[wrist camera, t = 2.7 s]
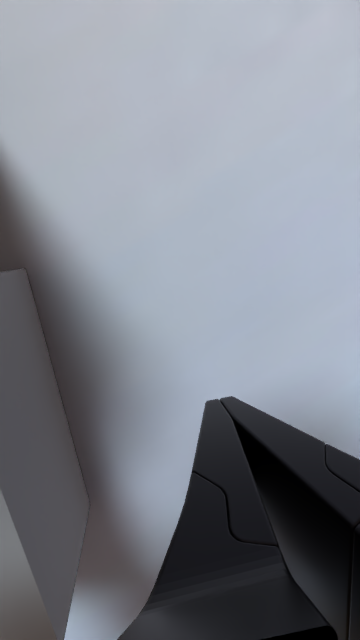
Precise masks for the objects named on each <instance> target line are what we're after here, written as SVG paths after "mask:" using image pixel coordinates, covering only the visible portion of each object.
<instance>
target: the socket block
mask: <svg viewBox="0 0 360 640" xmlns="http://www.w3.org/2000/svg"><path fill="white" fill-rule="evenodd" d="M89 509H90V502H89V498H88V495H87V491H86V487H85V484H84V480H83V476H82V473H81V469H80V466H79V462H78V458H77V455H76V451H75V447H74V444H73V440H72V436H71V433H70V429H69V425H68V422H67V418H66V414H65V411H64V407H63V404H62V400H61V396H60V393H59V389H58V385H57V382H56V378H55V374H54V371H53V367H52V363H51V360H50V356H49V353H48V349H47V345H46V342H45V338H44V334H43V331H42V327H41V323H40V320H39V316H38V312H37V309H36V305H35V302H34V298H33V294H32V291H31V287H30V283H29V280H28V276H27V272H26V269H25V268H23V269H16V270H8V271H1V272H0V640H64V637H65V632H66V626H67V621H68V616H69V611H70V606H71V601H72V596H73V591H74V586H75V580H76V575H77V570H78V565H79V560H80V555H81V550H82V545H83V539H84V534H85V529H86V524H87V519H88V514H89Z"/></svg>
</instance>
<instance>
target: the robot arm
mask: <svg viewBox="0 0 360 640" xmlns="http://www.w3.org/2000/svg"><path fill="white" fill-rule="evenodd" d="M117 640H360V460H359V459H357V458H355V457H353V456H351V455H349V454H347V453H345V452H343V451H340V450H338V449H336V448H334V447H332V446H330V445H328V444H326V445H325V443H324V442H322V441H320V440H318V439H316V438H314V437H312V436H310V435H308V434H306V433H304V432H302V431H300V430H298V429H296V428H294V427H292V426H290V425H288V424H286V423H284V422H282V421H280V420H278V419H276V418H274V417H272V416H270V415H268V414H266V413H264V412H262V411H260V410H258V409H256V408H254V407H252V406H250V405H248V404H246V403H244V402H242V401H240V400H238V399H237V398H235V397H232V396H230V397H225V398H221V399H220V400H219V399H215V400H209V401H206V403H205V408H204V413H203V418H202V423H201V428H200V433H199V438H198V443H197V448H196V453H195V458H194V463H193V468H192V474H191V477H190V482H189V487H188V491H187V495H186V499H185V503H184V506H183V509H182V512H181V515H180V518H179V521H178V524H177V526H176V529H175V532H174V535H173V537H172V540H171V543H170V545H169V548H168V551H167V553H166V556H165V559H164V562H163V564H162V567H161V570H160V572H159V575H158V578H157V580H156V583H155V585H154V588H153V590H152V592H151V594H150V597H149V599H148V601H147V602H146V604H145V606H144V608H143V609H142V611H141V612H140V614H139V615H138V616H137V618H136V619H135V620H134V621H133V622H132V623H131V625H130V626H129V627H128V628H127V629H126V630H125V631H124V633H123V634H122V635H121V636H120V637H119V638H118V639H117Z"/></svg>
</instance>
